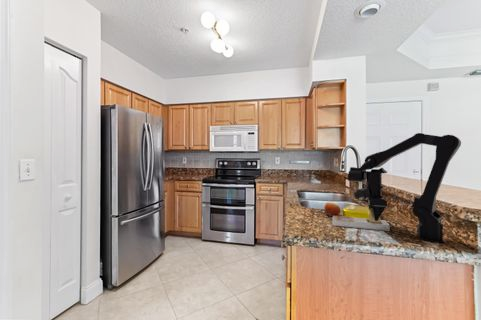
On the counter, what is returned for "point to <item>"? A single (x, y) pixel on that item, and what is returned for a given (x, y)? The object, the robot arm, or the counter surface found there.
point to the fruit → (331, 209)
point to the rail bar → (359, 223)
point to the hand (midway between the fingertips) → (374, 218)
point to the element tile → (356, 211)
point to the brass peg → (372, 217)
